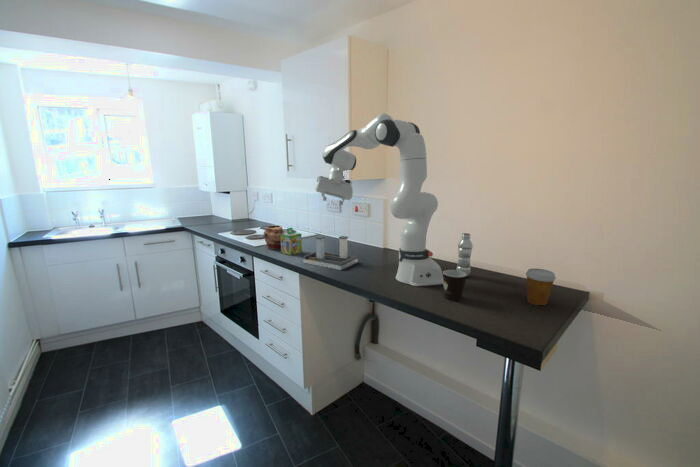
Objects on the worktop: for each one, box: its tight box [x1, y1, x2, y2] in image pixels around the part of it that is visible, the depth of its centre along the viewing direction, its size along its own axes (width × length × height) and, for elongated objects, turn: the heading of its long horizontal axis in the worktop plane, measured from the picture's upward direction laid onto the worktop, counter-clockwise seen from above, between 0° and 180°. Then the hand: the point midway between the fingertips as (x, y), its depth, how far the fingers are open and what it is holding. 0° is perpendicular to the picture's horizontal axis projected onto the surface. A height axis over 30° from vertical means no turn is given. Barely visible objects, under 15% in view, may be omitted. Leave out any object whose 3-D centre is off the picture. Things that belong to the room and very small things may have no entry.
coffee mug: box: [442, 269, 467, 302], centre depth 123 cm, size 12×9×10 cm
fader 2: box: [338, 235, 349, 259], centre depth 167 cm, size 3×3×12 cm
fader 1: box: [314, 235, 326, 259], centre depth 166 cm, size 3×3×12 cm
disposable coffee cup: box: [525, 268, 557, 306], centre depth 118 cm, size 10×10×12 cm
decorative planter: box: [263, 224, 285, 250], centre depth 199 cm, size 20×12×14 cm, turn 43°
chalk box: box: [280, 227, 303, 256], centre depth 186 cm, size 9×9×15 cm
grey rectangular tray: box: [302, 251, 359, 271], centre depth 168 cm, size 24×16×4 cm, turn 58°
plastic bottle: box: [455, 232, 474, 278], centre depth 146 cm, size 6×7×20 cm
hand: (332, 202), depth 170 cm, fingers open, 8 cm apart
